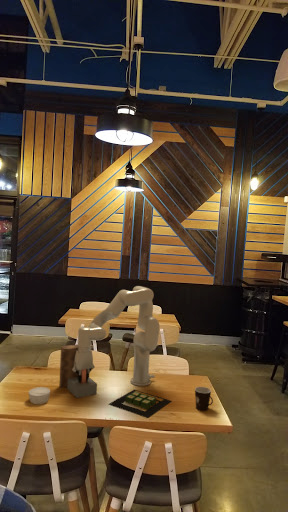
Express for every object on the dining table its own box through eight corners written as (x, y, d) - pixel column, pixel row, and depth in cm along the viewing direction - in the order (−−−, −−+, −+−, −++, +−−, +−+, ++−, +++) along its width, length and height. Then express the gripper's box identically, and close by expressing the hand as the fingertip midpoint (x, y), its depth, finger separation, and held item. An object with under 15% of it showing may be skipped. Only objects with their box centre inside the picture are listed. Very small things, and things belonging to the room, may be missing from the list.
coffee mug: (192, 404, 205) (193, 386, 205) (207, 404, 206) (208, 386, 206) (197, 414, 194) (198, 395, 193) (213, 414, 195) (214, 395, 194)
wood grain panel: (87, 381, 231) (89, 343, 230) (91, 385, 226) (93, 345, 225) (59, 386, 221) (60, 346, 220) (63, 390, 216) (64, 349, 215)
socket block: (86, 385, 225) (86, 375, 225) (96, 394, 213) (97, 383, 213) (67, 388, 218) (67, 378, 218) (76, 398, 207) (77, 387, 206)
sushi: (171, 402, 209) (172, 395, 208) (147, 419, 188) (148, 412, 187) (134, 390, 222) (134, 384, 222) (108, 405, 201) (108, 398, 201)
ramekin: (30, 406, 194) (30, 396, 194) (26, 398, 204) (26, 388, 204) (52, 403, 199) (52, 393, 199) (47, 395, 209) (47, 385, 209)
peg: (84, 385, 217) (85, 365, 217) (86, 387, 214) (87, 366, 214) (79, 386, 215) (79, 365, 215) (81, 388, 213) (82, 367, 212)
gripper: (94, 345, 222) (93, 376, 222) (68, 348, 213) (66, 380, 213) (100, 349, 215) (99, 380, 216) (73, 352, 206) (71, 385, 207)
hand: (83, 380), depth 215 cm, fingers open, 3 cm apart
